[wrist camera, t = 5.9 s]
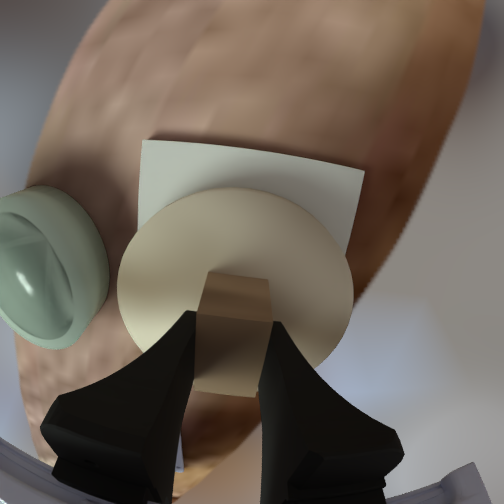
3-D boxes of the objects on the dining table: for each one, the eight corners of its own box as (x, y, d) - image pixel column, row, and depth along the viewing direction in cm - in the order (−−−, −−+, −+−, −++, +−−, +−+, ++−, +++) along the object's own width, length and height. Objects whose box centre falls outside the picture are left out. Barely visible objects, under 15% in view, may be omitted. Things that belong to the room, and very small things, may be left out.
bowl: (116, 334, 16) (99, 365, 13) (17, 305, 16) (-5, 327, 13) (107, 188, 13) (75, 202, 10) (-2, 184, 12) (-34, 195, 9)
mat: (298, 385, 18) (299, 392, 17) (149, 368, 17) (146, 374, 17) (360, 169, 13) (364, 171, 12) (147, 139, 12) (142, 139, 11)
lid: (314, 387, 16) (325, 437, 12) (133, 366, 15) (113, 414, 12) (375, 210, 12) (419, 240, 8) (121, 175, 11) (73, 193, 7)
